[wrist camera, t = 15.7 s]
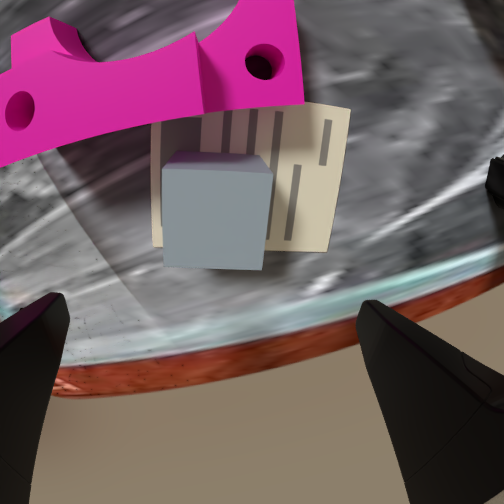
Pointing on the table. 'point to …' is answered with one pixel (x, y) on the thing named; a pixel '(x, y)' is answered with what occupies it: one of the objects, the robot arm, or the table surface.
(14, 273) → the table surface
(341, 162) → the letter
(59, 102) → the toy block
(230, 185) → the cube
